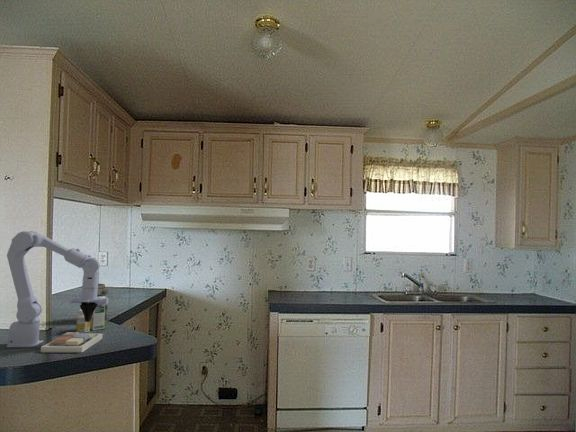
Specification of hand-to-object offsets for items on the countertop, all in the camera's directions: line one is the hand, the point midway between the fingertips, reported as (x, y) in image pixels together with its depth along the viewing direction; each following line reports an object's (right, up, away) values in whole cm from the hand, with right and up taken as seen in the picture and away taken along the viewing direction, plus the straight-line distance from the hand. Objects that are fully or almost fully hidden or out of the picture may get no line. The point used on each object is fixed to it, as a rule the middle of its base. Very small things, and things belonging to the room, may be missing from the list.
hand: (87, 321), depth 155 cm
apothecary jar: (-15, -9, +35) cm, 39 cm away
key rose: (-5, -6, -3) cm, 9 cm away
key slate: (0, -6, -6) cm, 8 cm away
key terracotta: (-5, -6, -9) cm, 12 cm away
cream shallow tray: (-2, -8, -6) cm, 10 cm away
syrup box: (-6, -9, +20) cm, 22 cm away
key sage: (0, -7, 0) cm, 7 cm away
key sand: (+1, -6, -11) cm, 13 cm away
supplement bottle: (-9, -9, +13) cm, 18 cm away
